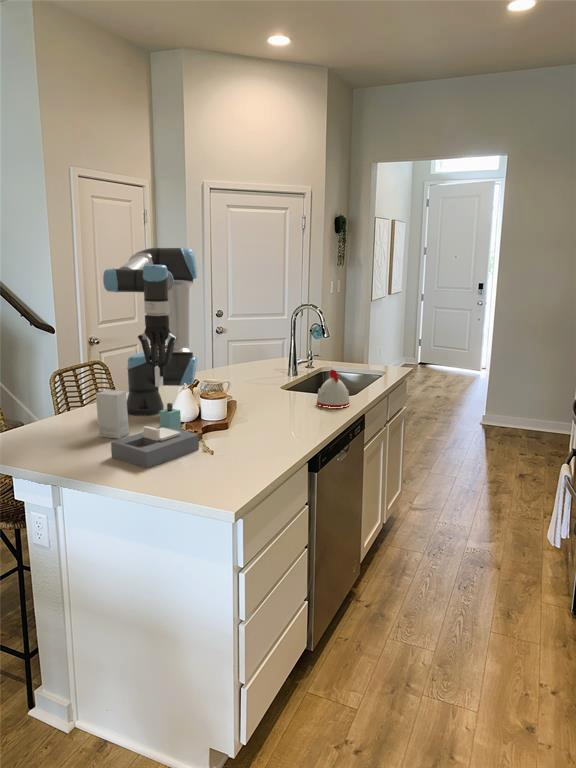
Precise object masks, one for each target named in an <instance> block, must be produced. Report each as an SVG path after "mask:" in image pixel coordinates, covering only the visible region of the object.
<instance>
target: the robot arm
mask: <svg viewBox="0 0 576 768" xmlns="http://www.w3.org/2000/svg"><path fill="white" fill-rule="evenodd" d="M102 276H103V277H102V280H103V282H102V283H103V287H104V290H106V291H107V292H110V293H113V292H114V293H143V301H144V302H143V303H144V304H143V305H144V306H143V307H144V314H145V315H144V325H145V329H144V332H143V333H142V334H139V335H138V336H137V339H138V340H139V341H140V344H141V348H142V352H140V353H136V354H132V355H131V356H129V357H128V359H127V368H126V369H127V381H128V385H127V386H128V395H127V397H126V400H127V413H128V415H130V416H131V415H132V416H151V415H153V416H154V415H157V414H160V413H159V411H161V410H165V407H164V405H165V404H164V402H163V401H162V397H161V393H160V390H159V389H160V388H161V387H162V386H163V387H164V386H165V387H166V386H168V387H169V386H171V387H175V386H176V387H177V386H179V387H184V386H183V385H184V383H186V384H187V386H192V384H194V381H195V378H196V372H197V367H198V366H197V365H198V359H197V358H198V357H197V356H195V355H194V352H193V350H192V349H191V348H190V288H191V286H192V285H193V284H194V280H195V279H197V278H198V268H197V261H196V257H195V253H194V251H193V250H192V249H191V248H183V247H151V248H146V249H143V250H140V251H138V252H136V253H134V254H133V255H131V256H130V257H129V259H128V262H126V263H125V264H123V265H122V266H120V267H119V268H107V269H105V270H104V271H103V275H102ZM148 340H149V341H148ZM166 341H167V342H166ZM166 344H167V345H166Z"/></svg>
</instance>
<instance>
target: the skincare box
mask: <svg viewBox="0 0 576 768" xmlns="http://www.w3.org/2000/svg"><path fill="white" fill-rule="evenodd" d="M95 401H96V411H97V412H96V413H97V421H98V422H97V423H98V434H99V435H98V436H99V437H100V438H108V439H110V438H111V439H117V440H119V439H122V438H125V436H126V437H127V436H128V435H129V434H130V430H129V429H130V428H129V414H128V413H127V391H126V390H114V389H105V390H102V391H100V392H97V393H95Z"/></svg>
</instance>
